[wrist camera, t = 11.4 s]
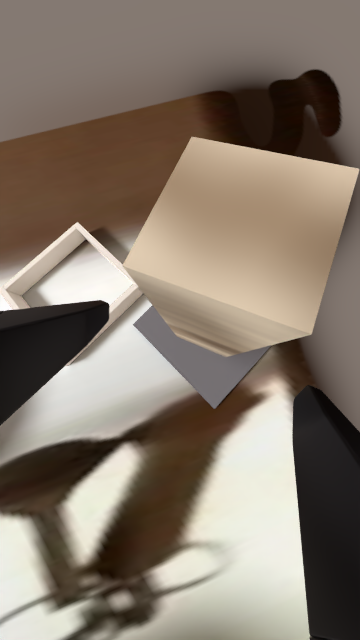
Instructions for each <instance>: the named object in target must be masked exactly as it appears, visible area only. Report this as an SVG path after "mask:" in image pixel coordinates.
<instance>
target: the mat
mask: <svg viewBox="0 0 360 640" xmlns="http://www.w3.org/2000/svg"><path fill="white" fill-rule="evenodd" d="M133 325H134V326H135V327H136V328H137V329H138V330H139V331H140V332H141V333H142V334H143V335H144V336H145V337H146V339H147V340H148V341H149V342H150V343H151V344H152V345H153V346H154V347H155V348H156V349H157V350H158V351H159V352H160V353H161V354H162V355H163V356H164V357H165V358H166V359H167V360H168V361H169V362H170V363H171V364H172V366H173V367H174V368H175V369H176V370H177V371H178V372H179V373H180V374H181V375H182V376H183V377H184V378H185V379H186V380H187V381H188V382H189V383H190V384H191V385H192V386H193V387H194V388H195V389H196V390H197V391H198V393H199V394H200V395H201V396H202V397H203V398H204V399H205V400H206V401H207V402H208V403H209V404H210V405H211V406H212V407H213V408H214V409H215V408H216V407H217V406H218V405H219V403H220V402H221V401H222V400H223V399H224V398H225V397H226V396H227V395H228V393H229V392H230V391H231V390H232V389H233V388H234V387H235V386H236V384H237V383H238V382H239V381H240V380H241V379H242V378H243V377H244V376H245V374H246V373H247V372H248V371H249V370H250V369H251V368H252V367H253V365H254V364H255V363H256V362H257V361H258V360H259V359H260V358H261V357H262V355H263V354H264V353H265V352H266V351H267V350H268V349H269V348H270V346H271V345H270V346H266V347H263V348H259V349H255V350H251V351H247V352H244V353H240V354H236V355H232V356H228V357H224V356H222V355H220V354H217V353H215V352H213V351H210V350H208V349H205V348H203V347H201V346H198V345H196V344H194V343H191V342H189V341H186V340H184V339H182V338H179V337H177V336H176V335H175V333H174V332H173V331H172V330H171V328H170V327H169V326H168V324H167V323H166V322H165V320H164V319H163V318H162V317H161V315H160V314H159V313H158V311H157V310H156V309H155V307H154V306H153V305H152V306H151V307H150V308H149V309H148V310H147V311H146V312H145V313H144V314H143V315H142V316H141V317H140V318H139V319H138V320H137V321H136V322H135V323H134V324H133Z"/></svg>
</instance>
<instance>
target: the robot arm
mask: <svg viewBox="0 0 360 640" xmlns="http://www.w3.org/2000/svg"><path fill="white" fill-rule="evenodd" d="M108 321H109V304H108V303H106V302H104V301H101V300H97V301H88V302H79V303H70V304H61V305H52V306H43V307H34V308H25V309H16V310H7V311H0V425H1V424H2V423H4V422H5V421H6V420H7V419H8V418H9V417H10V416H11V415H12V414H13V413H14V412H15V411H17V410H18V409H19V408H20V407H21V406H22V405H23V404H24V403H25V402H26V401H27V400H28V399H30V398H31V397H32V396H33V395H34V394H35V393H36V392H37V391H38V390H39V389H40V388H41V387H43V386H44V385H45V384H46V383H47V382H48V381H49V380H50V379H51V378H52V377H53V376H54V375H56V374H57V373H58V372H59V371H60V370H61V369H62V368H63V367H64V366H65V365H66V364H67V363H69V362H70V361H71V360H72V359H73V358H74V357H75V356H76V355H77V354H78V353H79V352H80V351H82V350H83V349H84V348H85V347H86V346H87V345H88V344H89V343H90V342H91V341H92V339H93V338H94V337H95V336H96V335H97V334H98V333H99V331H100V330H101V329H102V328H103V327H104V326H105V325H106V324H107V322H108ZM293 452H294V464H295V475H296V486H297V498H298V509H299V521H300V532H301V543H302V555H303V566H304V577H305V589H306V600H307V611H308V623H309V633H310V640H360V432H359V431H358V430H357V429H356V428H355V427H354V425H353V424H352V423H351V422H350V421H349V420H348V419H347V418H346V417H345V416H344V415H343V413H342V412H341V411H340V410H339V409H338V408H337V407H336V406H335V405H334V404H333V403H332V401H331V400H330V399H329V398H328V397H327V396H326V395H325V394H324V393H323V392H322V391H321V390H320V389H318V388H315V387H313V386H310V385H308V386H306V387H305V388H304V389H303V390H302V391H301V392H300V393H299V394H298V395H297V396H296V397H295V399H294V403H293Z"/></svg>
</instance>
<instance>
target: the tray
mask: <svg viewBox="0 0 360 640" xmlns="http://www.w3.org/2000/svg"><path fill="white" fill-rule="evenodd" d="M84 240H87V241H88V242H89V243H90V244H91V245H93V246H94V247H95V248H96V249H97V250H98V251H99V252H100V253H101V254H102V255H103V256H104V257H105V258H106V259H107V260H108V261H109V262H110V263H111V264H112V265H113V266H115V267H116V268H117V269H118V270H119V271H120V272H121V273H122V274H123V275H124V276H125V277H126V278H127V279H128V280H129V281H130V282H131V283H132V285H131V286H130V287H129V288H128V289H127V290H126V291H125V292H124V293H123V294H122V295H121V296H120V297H119V298H117V299H116V300H115V301H114V302H113V303H112V304H111V305H110V306H109V321H108V322H107V324H106V325H105V326H104V327H103V328H102V329H101V330H100V331H99V333H98V334H97V335H96V336H95V337H94V338H93V339H92V341H91V342H90V343H89V344H88V345H87V346H86V347H85V348H84V349H83V350H82V351H80V352H79V353H78V354H77V355H76V356H75V357H74V358H73V359H72V360H71V361H70V362H69V363H67V364H66V365H65V366H69V365H70V364H71V363H72V362H73V361H74V360H75V359H76V358H77V357H78V356H79V355H80V354H81V353H82V352H83V351H84V350H85V349H86V348H87V347H88V346H89V345H90V344H91V343H93V342H94V341H95V340H96V339H97V338H98V337H99V336H100V335H101V334H102V333H103V332H104V331H105V330H106V329H107V328H108V327H109V326H110V325H111V324H112V323H113V322H114V321H115V320H116V319H117V318H119V317H120V316H121V315H122V314H123V313H124V312H125V311H126V310H127V309H128V308H129V307H130V306H131V305H132V304H133V303H134V302H135V301H136V300H137V299H138V298H139V297H140V296H141V295H142V293H143V292H142V291H141V289H140V288H139V287H138V285H137V284H136V283H135V282H134V280H133V279H132V278H131V276H130V275H129V274H128V272H127V271H126V270H125V269H124V267H123V266H122V265H123V264H122V263H120V262H119V261H118V260H117V259H116V258H115V257H114V256H113V255H112V254H111V253H110V252H109V251H108V250H107V249H105V248H104V247H103V246H102V245H101V244H100V243H99V242H98V241H97V240H96V239H95V238H94V237H93V236H92V235H91V234H89V233H88V232H87V231H86V230H85V229H84V228H83V227H82V226H81V225H80V224H79V223H78V222H77V223H76V224H74V225H73V226H72V227H71V228H70V229H69V230H67V231H66V232H65V233H64V234H63V235H62V236H60V237H59V238H58V239H57V240H56V241H55V242H53V243H52V244H51V245H50V246H49V247H48V248H46V249H45V250H44V251H43V252H42V253H41V254H39V255H38V256H37V257H36V258H35V259H34V260H32V261H31V262H30V263H29V264H28V265H27V266H26V267H24V268H23V269H22V270H21V271H20V272H19V273H17V274H16V275H15V276H14V277H13V278H12V279H10V280H9V281H8V282H7V283H6V284H5V285H3V286H2V287H1V288H0V293H1V295H2V296H3V297H4V299H5V300H6V301H7V303H8V304H9V305H10V307H11V308H12V309H13V310H16V309H25V308H30V306H29V305H28V304H27V303H26V301H25V300H24V299H23V298H22V295H23V294H24V293H25V292H26V291H27V290H29V289H30V288H31V287H32V286H33V285H34V284H35V283H37V282H38V281H39V280H40V279H41V278H42V277H43V276H45V275H46V274H47V273H48V272H49V271H50V270H51V269H53V268H54V267H55V266H56V265H57V264H58V263H59V262H61V261H62V260H63V259H64V258H65V257H66V256H67V255H68V254H70V253H71V252H72V251H73V250H74V249H75V248H76V247H78V246H79V245H80V244H81V243H82V242H83V241H84Z"/></svg>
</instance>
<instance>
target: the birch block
mask: <svg viewBox="0 0 360 640" xmlns="http://www.w3.org/2000/svg"><path fill="white" fill-rule="evenodd" d="M358 172H359V169H357V168H351V167H346V166H341V165H336V164H331V163H326V162H321V161H315V160H310V159H305V158H299V157H295V156H289V155H284V154H279V153H274V152H269V151H263V150H258V149H253V148H248V147H243V146H237V145H232V144H227V143H222V142H217V141H211V140H206V139H201V138H196V137H192V138H191V139H190V141H189V143H188V145H187V147H186V149H185V151H184V152H183V154H182V156H181V158H180V160H179V162H178V164H177V165H176V167H175V169H174V171H173V173H172V175H171V176H170V178H169V180H168V182H167V184H166V186H165V188H164V189H163V191H162V193H161V195H160V197H159V199H158V201H157V202H156V204H155V206H154V208H153V210H152V212H151V214H150V215H149V217H148V219H147V221H146V223H145V225H144V226H143V228H142V230H141V232H140V234H139V236H138V238H137V239H136V241H135V243H134V245H133V247H132V249H131V251H130V252H129V254H128V256H127V258H126V260H125V262H124V263H123V265H122V266H123V267H124V269H125V270H126V271H127V272H128V274H129V275H130V276H131V278H132V279H133V280H134V282H135V283H136V284H137V285H138V287H139V288H140V289H141V291H142V292H143V293H144V295H145V296H146V297H147V298H148V300H149V301H150V302H151V304H152V305H153V306H154V307H155V309H156V310H157V311H158V313H159V314H160V315H161V317H162V318H163V319H164V320H165V322H166V323H167V324H168V326H169V327H170V328H171V330H172V331H173V332H174V333H175V335H176V336H177V337H179V338H182V339H184V340H186V341H189V342H191V343H194V344H196V345H198V346H201V347H203V348H205V349H208V350H210V351H213V352H215V353H217V354H220V355H222V356H224V357H228V356H232V355H236V354H240V353H244V352H247V351H251V350H255V349H259V348H263V347H266V346H270V345H274V344H278V343H282V342H285V341H289V340H293V339H297V338H301V337H304V336H308V335H311V334H312V331H313V328H314V324H315V320H316V317H317V314H318V311H319V307H320V304H321V300H322V296H323V293H324V290H325V286H326V283H327V279H328V276H329V273H330V269H331V266H332V262H333V258H334V255H335V252H336V248H337V245H338V241H339V238H340V234H341V231H342V227H343V224H344V221H345V217H346V214H347V210H348V207H349V203H350V200H351V196H352V193H353V189H354V186H355V182H356V179H357V176H358Z"/></svg>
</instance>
